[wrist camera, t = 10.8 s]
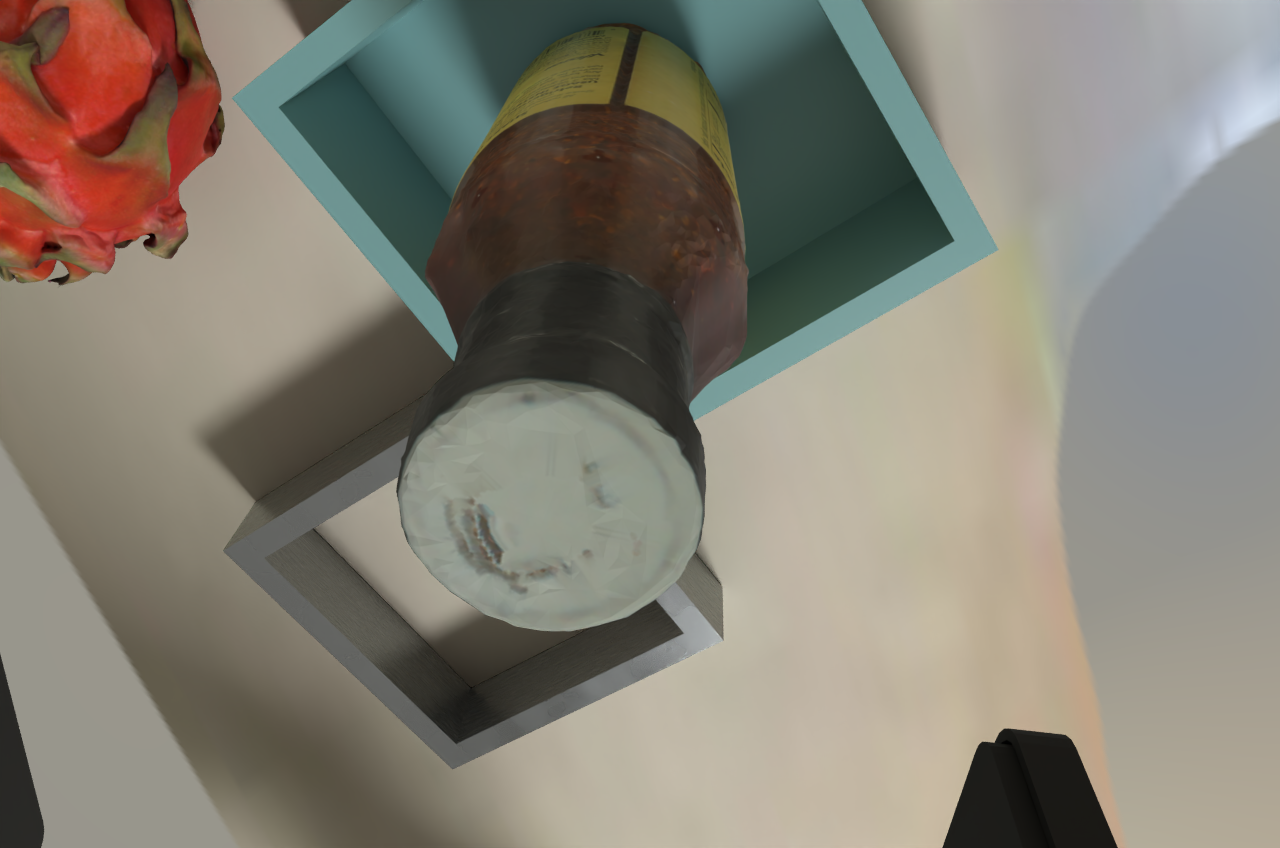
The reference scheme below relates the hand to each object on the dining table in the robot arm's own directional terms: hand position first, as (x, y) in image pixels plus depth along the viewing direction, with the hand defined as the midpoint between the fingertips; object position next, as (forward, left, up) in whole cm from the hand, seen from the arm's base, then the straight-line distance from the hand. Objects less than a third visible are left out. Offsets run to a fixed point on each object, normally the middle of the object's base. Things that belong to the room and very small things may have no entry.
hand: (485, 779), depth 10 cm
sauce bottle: (0, 0, -24) cm, 24 cm away
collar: (-10, +13, -24) cm, 29 cm away
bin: (0, 0, -24) cm, 24 cm away
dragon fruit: (+11, +11, -25) cm, 29 cm away
